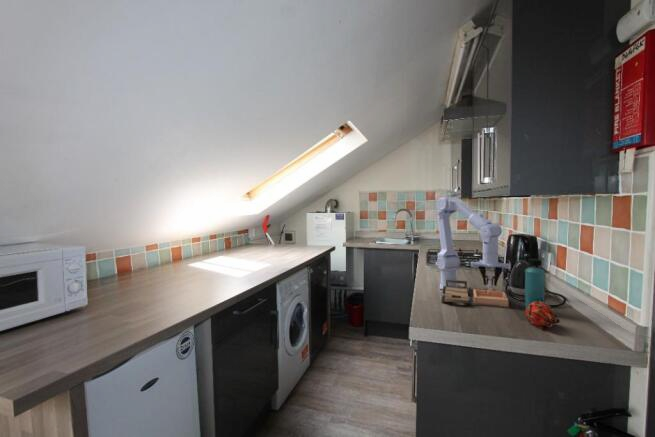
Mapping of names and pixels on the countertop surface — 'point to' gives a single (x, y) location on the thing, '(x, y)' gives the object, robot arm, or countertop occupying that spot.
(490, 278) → the pin
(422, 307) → the countertop surface
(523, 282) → the pump dispenser
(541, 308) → the dragon fruit
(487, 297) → the tray
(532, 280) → the teal bottle
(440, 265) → the robot arm
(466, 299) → the trolley
